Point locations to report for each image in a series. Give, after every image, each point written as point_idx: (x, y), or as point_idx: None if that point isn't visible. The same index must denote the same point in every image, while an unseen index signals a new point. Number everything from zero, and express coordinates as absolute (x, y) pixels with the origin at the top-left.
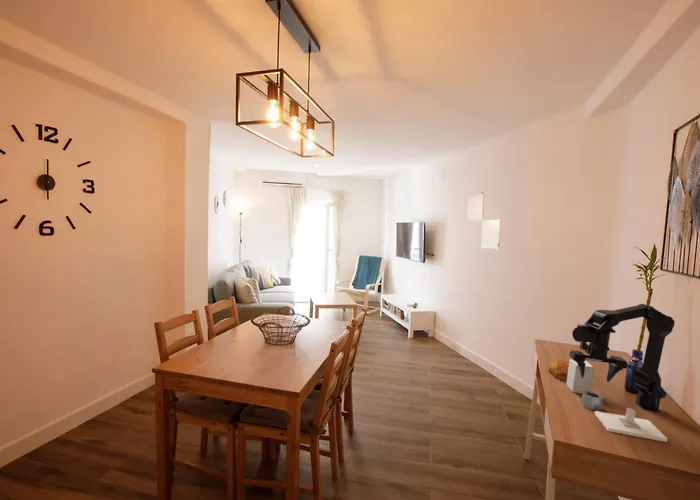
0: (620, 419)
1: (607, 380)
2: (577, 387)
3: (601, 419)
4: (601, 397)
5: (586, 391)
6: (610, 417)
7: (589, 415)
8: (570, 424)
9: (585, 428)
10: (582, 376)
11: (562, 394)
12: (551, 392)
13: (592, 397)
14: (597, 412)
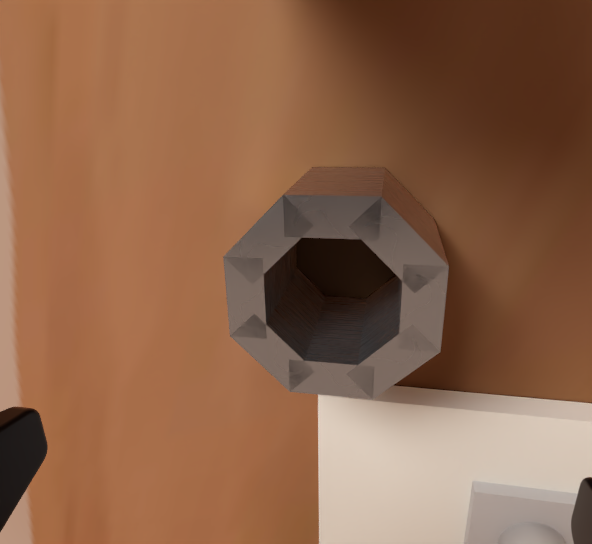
0: (475, 516)
1: (582, 526)
2: None
3: (319, 502)
4: (420, 347)
5: (278, 222)
6: (411, 470)
7: (268, 414)
8: (114, 538)
9: None
10: (7, 488)
11: (120, 59)
12: (18, 60)
13: (296, 378)
14: (329, 417)
